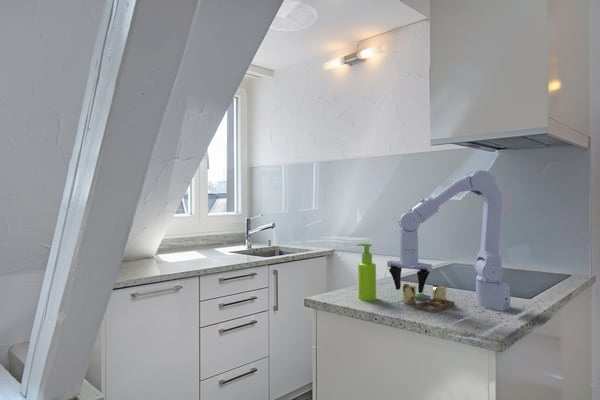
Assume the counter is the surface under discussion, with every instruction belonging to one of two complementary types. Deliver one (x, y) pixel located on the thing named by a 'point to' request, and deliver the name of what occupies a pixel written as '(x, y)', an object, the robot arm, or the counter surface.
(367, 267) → the soap dispenser
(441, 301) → the cylinder
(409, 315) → the counter surface
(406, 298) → the cylinder
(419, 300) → the button housing
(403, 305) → the light blue shallow tray
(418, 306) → the wooden tray
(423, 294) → the button
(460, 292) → the counter surface
